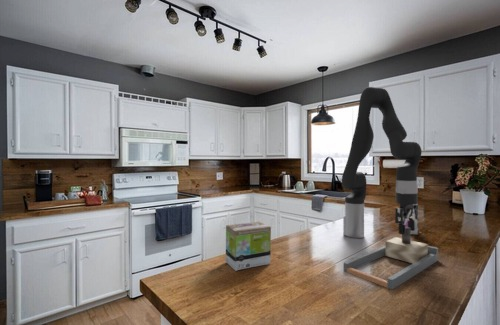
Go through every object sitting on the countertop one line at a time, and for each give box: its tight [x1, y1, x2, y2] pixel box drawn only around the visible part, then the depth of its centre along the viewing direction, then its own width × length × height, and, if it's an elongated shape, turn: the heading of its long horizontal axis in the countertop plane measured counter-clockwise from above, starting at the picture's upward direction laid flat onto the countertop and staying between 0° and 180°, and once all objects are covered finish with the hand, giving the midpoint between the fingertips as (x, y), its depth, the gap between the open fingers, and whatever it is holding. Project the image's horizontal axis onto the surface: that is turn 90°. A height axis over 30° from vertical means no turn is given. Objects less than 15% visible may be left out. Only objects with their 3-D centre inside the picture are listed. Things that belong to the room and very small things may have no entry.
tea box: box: [225, 221, 272, 272], centre depth 102 cm, size 15×10×15 cm
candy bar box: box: [403, 204, 419, 236], centre depth 143 cm, size 11×5×16 cm, turn 168°
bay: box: [342, 244, 439, 290], centre depth 99 cm, size 17×38×5 cm, turn 127°
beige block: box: [385, 227, 429, 265], centre depth 105 cm, size 12×9×12 cm
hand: (406, 232), depth 105 cm, fingers open, 8 cm apart
